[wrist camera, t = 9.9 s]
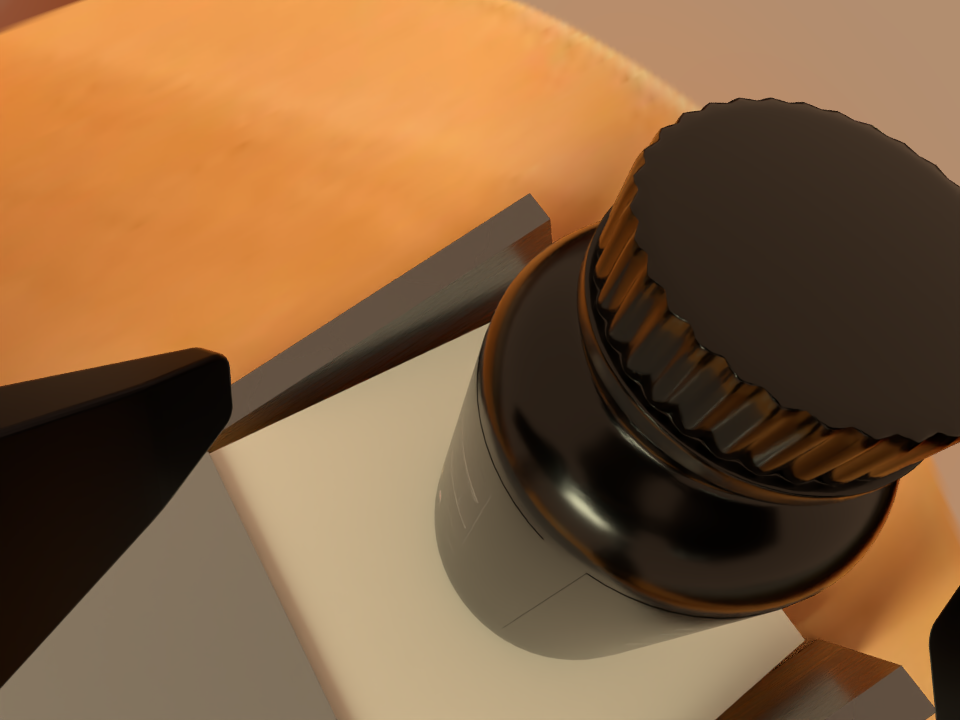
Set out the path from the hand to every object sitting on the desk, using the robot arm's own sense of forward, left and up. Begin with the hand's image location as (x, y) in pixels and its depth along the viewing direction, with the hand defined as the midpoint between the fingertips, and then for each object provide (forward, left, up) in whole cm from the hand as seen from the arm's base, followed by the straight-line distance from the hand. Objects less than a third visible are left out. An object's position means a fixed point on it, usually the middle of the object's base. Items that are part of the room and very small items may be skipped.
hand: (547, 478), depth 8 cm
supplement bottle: (0, 0, -10) cm, 10 cm away
